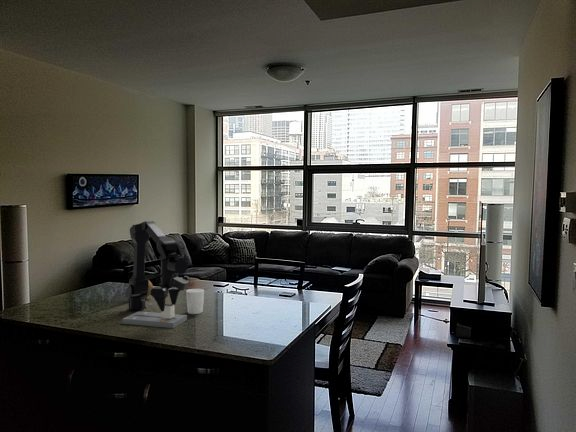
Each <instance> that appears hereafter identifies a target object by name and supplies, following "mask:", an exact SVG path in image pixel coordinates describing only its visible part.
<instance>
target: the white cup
mask: <svg viewBox="0 0 576 432" xmlns="http://www.w3.org/2000/svg"><path fill="white" fill-rule="evenodd" d="M185 290H186V291H185V292H186V295H185V296H186V306H187V308H186V309H187V314H190V315H200V314H202V313H203V311H204V310H203V309H204V302H205V301H204V299H205V297H204V295H205V289H203V288H191V289H190V288H189V289H185Z"/></svg>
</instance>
